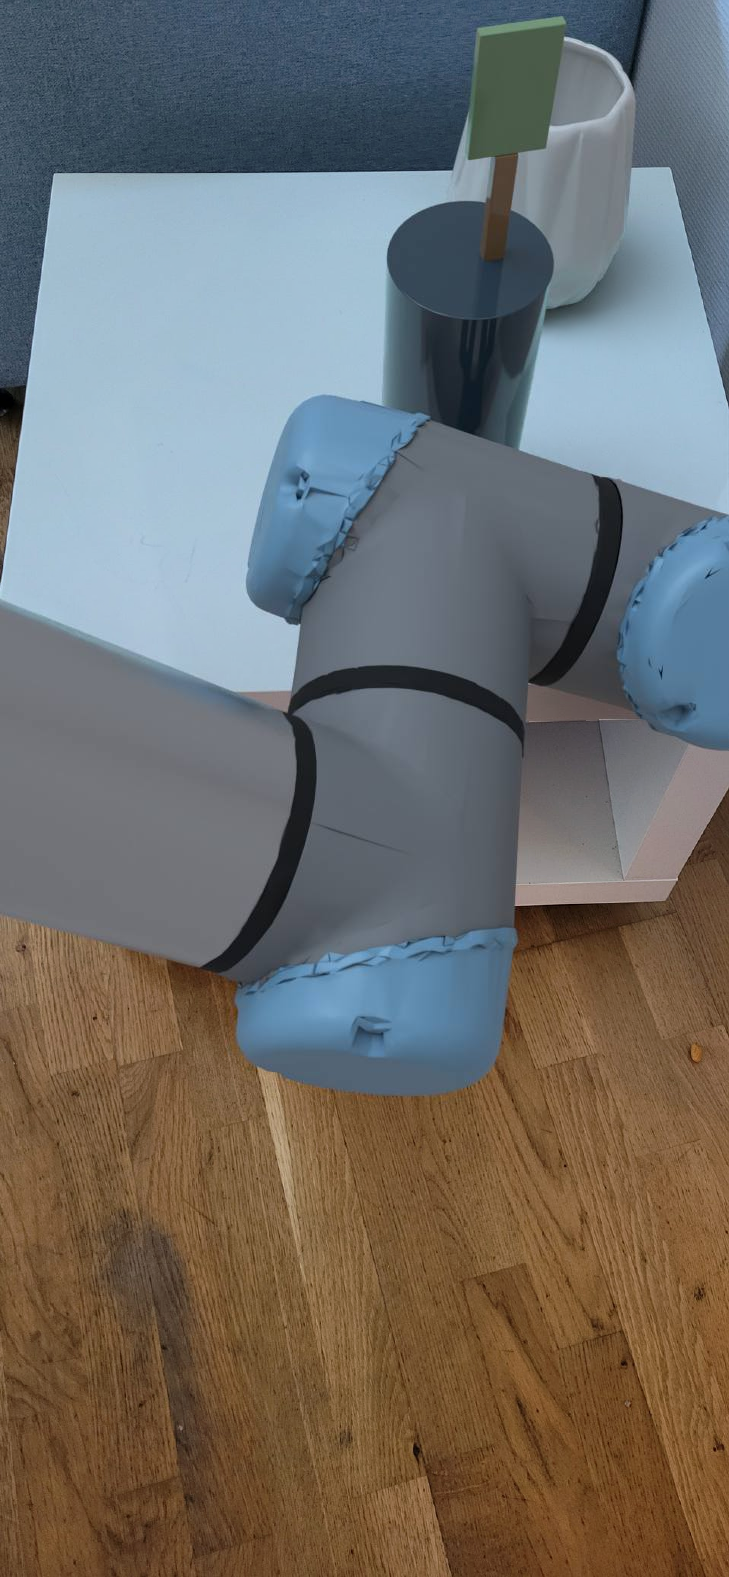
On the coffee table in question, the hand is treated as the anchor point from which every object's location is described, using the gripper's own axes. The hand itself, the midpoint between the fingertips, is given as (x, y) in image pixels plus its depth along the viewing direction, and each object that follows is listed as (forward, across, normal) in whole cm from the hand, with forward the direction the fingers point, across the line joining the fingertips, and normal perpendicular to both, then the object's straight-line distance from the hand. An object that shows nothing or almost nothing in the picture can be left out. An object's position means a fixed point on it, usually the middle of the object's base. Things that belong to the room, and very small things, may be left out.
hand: (472, 517), depth 72 cm
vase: (+26, -12, -15) cm, 32 cm away
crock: (+9, 0, +1) cm, 9 cm away
